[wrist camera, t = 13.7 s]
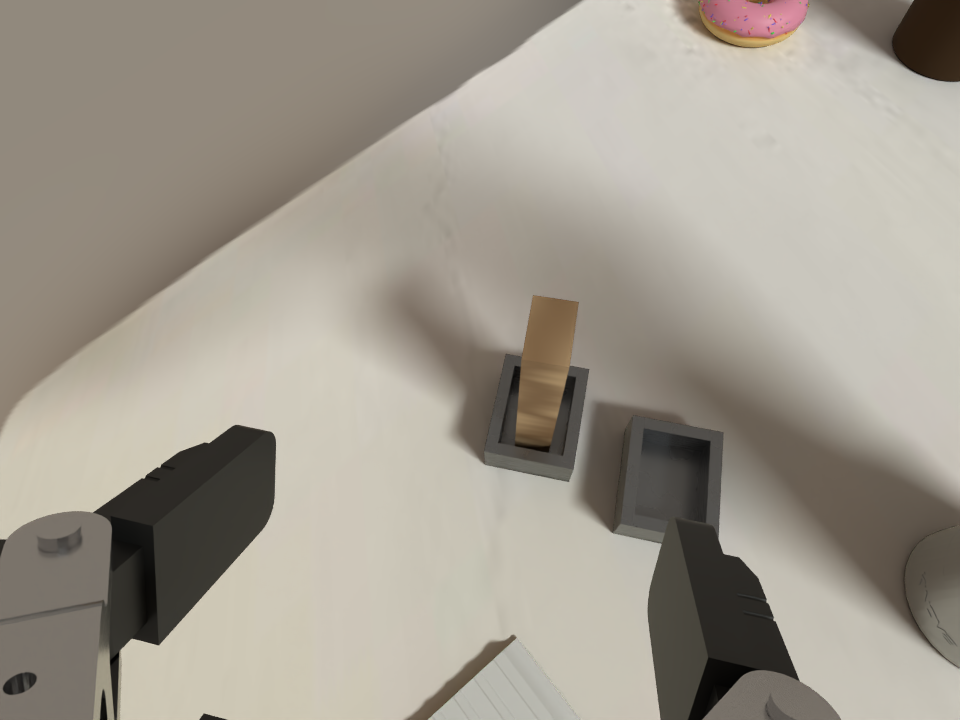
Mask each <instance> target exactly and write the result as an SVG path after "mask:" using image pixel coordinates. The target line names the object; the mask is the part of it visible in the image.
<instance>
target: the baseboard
mask: <svg viewBox="0 0 960 720" xmlns="http://www.w3.org/2000/svg"><path fill="white" fill-rule="evenodd" d="M428 720H581V719H580V718H579V717H578V715H577V714H576V713H575V712H574V710H573V709H572V708H571V706H570V705H569V704H568V703H567V701H566V700H565V699H564V697H563V696H562V695H561V693H560V692H559V691H558V690H557V688H556V687H555V686H554V684H553V683H552V682H551V681H550V679H549V678H548V677H547V675H546V674H545V673H544V672H543V670H542V669H541V668H540V666H539V665H538V664H537V662H536V661H535V660H534V659H533V657H532V656H531V655H530V653H529V652H528V651H527V650H526V648H525V647H524V646H523V644H522V643H521V642H520V640H519V639H518V638H516V639H515V640H514V641H513V642H512V643H511V644H510V645H508V646H507V647H506V648H505V649H504V650H503V651H502V652H501V653H500V654H499V655H497V656H496V657H495V658H494V659H493V660H492V661H491V662H490V663H489V664H488V665H487V666H486V667H484V668H483V669H482V670H481V671H480V672H479V673H478V674H477V675H476V676H475V677H474V678H472V679H471V680H470V681H469V682H468V683H467V684H466V685H465V686H464V687H463V688H462V689H461V690H459V691H458V692H457V693H456V694H455V695H454V696H453V697H452V698H451V699H450V700H449V701H447V702H446V703H445V704H444V705H443V706H442V707H441V708H440V709H439V710H438V711H437V712H435V713H434V714H433V715H432V716H431V717H430V718H429V719H428Z"/></svg>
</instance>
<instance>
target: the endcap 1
mask: <svg viewBox="0 0 960 720" xmlns="http://www.w3.org/2000/svg"><path fill="white" fill-rule="evenodd" d="M521 359H522V357H520V356H514V355H509V354H506V356H505V361H504V365H503V369H502V374H501V378H500V383H499V387H498V392H497V396H496V401H495V405H494V409H493V414H492V418H491V423H490V427H489V432H488V436H487V441H486V445H485V449H484V459H485V465H489V466H494V467H499V468H504V469H508V470H513V471H518V472H523V473H528V474H533V475H538V476H542V477H547V478H552V479H557V480H562V481H567V482H569V480H570V477H571V475H572V472H573V469H574V463H575V456H576V450H577V443H578V437H579V431H580V424H581V418H582V411H583V405H584V399H585V392H586V386H587V379H588V373H589V369H585V368H580V367H574V366H569V371H568V375H567V379H566V383H565V387H564V392H563V396H562V400H561V404H560V408H559V412H558V417H557V421H556V425H555V429H554V433H553V437H552V441H551V446H550V450H549V452H545V451H539V450H534V449H528V448H522V447H517V446H515V435H516V423H517V410H518V397H519V385H520V372H521Z"/></svg>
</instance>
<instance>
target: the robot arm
mask: <svg viewBox="0 0 960 720" xmlns="http://www.w3.org/2000/svg"><path fill="white" fill-rule="evenodd" d="M275 460H276V439H275V436H274V434H273V433H272V432H269V431H265V430H260V429H255V428H250V427H245V426H241V425H234V426H232V427H231V428H230V429H228V430H227V431H225V432H224V433H223V434H221V435H220V436H219V437H217V438H216V439H215V440H213V441H212V442H211V443H202V444H200V445H197V446H194V447H191V448H189V449H186V450H183V451H180V452H179V453H177V454H176V455H174V456H173V457H172V458H170V459H169V460H167V461H166V462H164V463H163V464H162V465H161V467H160V468H158V467H157V468H156V469H154V470H153V471H152V472H150V473H149V474H147V475H146V477H145V479H140V480H139V481H137V482H136V483H134V484H133V485H132V486H130V487H129V488H127V489H126V490H125V491H123V492H122V493H120V494H119V495H117V496H116V497H115V498H113V499H112V500H110V501H109V502H107V503H106V504H105V505H103V506H102V507H100V508H99V509H97V510H96V511H95V512H93V513H91V512H83V511H72V512H63V513H57V514H52V515H48V516H45V517H42V518H39V519H36V520H34V521H31V522H29V523H27V524H25V525H23V526H22V527H20V528H19V529H17V530H16V531H15V532H13V533H12V534H11V535H10V536H9V537H8V539H7V540H0V720H120V700H121V668H122V661H121V649H122V648H123V647H124V646H125V645H126V644H127V643H128V642H129V641H130V640H131V639H136V640H140V641H144V642H148V643H152V644H155V645H160V643H161V642H162V641H163V640H164V639H165V638H166V637H167V636H168V635H169V633H170V632H171V631H172V630H173V629H174V628H175V627H176V626H177V624H178V623H179V622H180V621H181V620H182V619H183V618H184V617H185V616H186V614H187V613H188V612H189V611H190V610H191V609H192V608H193V607H194V606H195V604H196V603H197V602H198V601H199V600H200V599H201V598H202V597H203V595H204V594H205V593H206V592H207V591H208V590H209V589H210V588H211V587H212V585H213V584H214V583H215V582H216V581H217V580H218V579H219V578H220V576H221V575H222V574H223V573H224V572H225V571H226V570H227V569H228V568H229V566H230V565H231V564H232V563H233V562H234V561H235V560H236V559H237V557H238V556H239V555H240V554H241V553H242V552H243V551H244V550H245V549H246V547H247V546H248V545H249V544H250V543H251V542H252V541H253V540H254V539H255V537H256V536H257V535H258V534H259V533H260V532H261V531H262V530H263V528H264V527H265V525H266V524H267V522H268V520H269V518H270V515H271V512H272V509H273V505H274V496H275ZM905 589H906V597H907V600H908V603H909V606H910V610H911V613H912V615H913V616H914V618H915V620H916V622H917V624H918V626H919V628H920V630H921V631H922V632H923V634H924V635H925V636H926V638H927V639H928V640H929V642H930V643H931V644H932V645H933V646H934V647H935V648H936V649H937V650H938V651H939V652H940V653H941V654H942V655H943V656H944V657H945V658H946V659H948V660H949V661H951V662H952V663H953V664H955V665H956V666H958V667H959V668H960V525H958V526H955V527H951V528H948V529H945V530H942V531H939V532H936V533H934V534H931V535H929V536H927V537H926V538H925V539H923V540H922V541H921V542H919V543H918V544H917V546H916V547H915V549H914V550H913V551H912V553H911V554H910V557H909V560H908V562H907V565H906V571H905ZM766 600H767V599H766V597H765V594H764V592H763V589H762V587H761V584H760V582H759V579H758V577H757V576H756V575H755V574H754V573H753V572H752V571H751V570H750V569H749V568H748V567H747V566H746V564H745V563H744V562H743V561H742V560H741V559H740V558H739V557H734V556H730V555H725V554H723V552H722V549H721V546H720V543H719V540H718V537H717V534H716V531H715V528H714V526H713V525H711V524H707V523H702V522H697V521H692V520H688V519H683V518H678V517H671V518H670V520H669V522H668V524H667V527H666V531H665V534H664V538H663V541H662V545H661V549H660V552H659V556H658V560H657V563H656V567H655V571H654V574H653V578H652V582H651V586H650V591H649V598H648V623H649V631H650V638H651V646H652V654H653V662H654V670H655V678H656V686H657V694H658V702H659V710H660V718H661V720H841V719H840V717H839V715H838V714H837V713H836V711H835V710H834V709H833V708H832V706H831V705H830V704H829V703H828V702H827V701H826V700H825V699H824V698H822V697H821V696H820V695H819V694H818V693H817V692H815V691H814V690H812V689H811V688H810V687H808V686H806V685H805V684H803V683H801V682H800V681H799V678H798V676H797V673H796V671H795V668H794V666H793V663H792V661H791V658H790V656H789V654H788V651H787V649H786V646H785V644H784V641H783V639H782V636H781V634H780V631H779V629H778V626H777V624H776V622H775V621H773V618H774V616H773V614H772V611H771V609H770V606H769V604H768V603H766ZM200 720H226V719H222V718H219V717H215V716H211V715H208V714H203V715H202V717H201V718H200Z"/></svg>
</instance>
